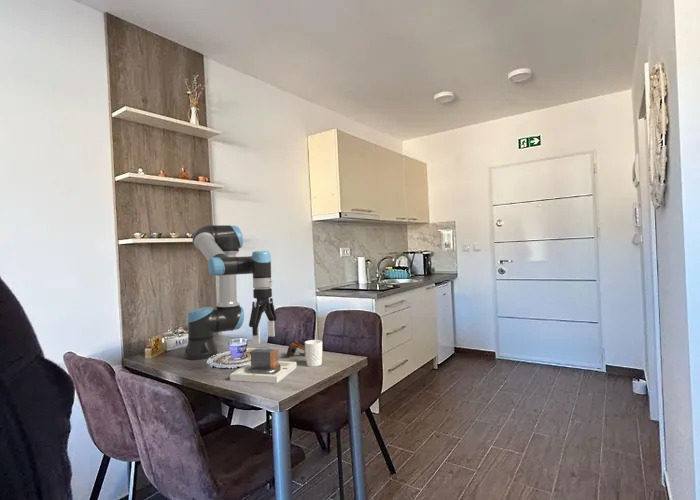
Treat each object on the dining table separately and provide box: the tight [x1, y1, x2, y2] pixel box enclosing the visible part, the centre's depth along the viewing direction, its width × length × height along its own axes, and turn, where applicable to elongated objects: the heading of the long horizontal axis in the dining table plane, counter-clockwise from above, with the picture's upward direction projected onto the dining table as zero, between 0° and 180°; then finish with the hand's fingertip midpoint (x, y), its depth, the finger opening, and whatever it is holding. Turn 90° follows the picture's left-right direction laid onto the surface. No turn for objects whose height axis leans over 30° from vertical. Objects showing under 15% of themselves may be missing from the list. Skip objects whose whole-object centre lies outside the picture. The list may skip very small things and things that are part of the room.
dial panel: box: [229, 360, 297, 384], centre depth 162 cm, size 20×20×3 cm
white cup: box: [304, 339, 323, 367], centre depth 174 cm, size 8×8×10 cm
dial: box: [248, 348, 281, 375], centre depth 162 cm, size 13×13×9 cm
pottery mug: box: [285, 340, 306, 358], centre depth 189 cm, size 12×9×8 cm
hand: (264, 339), depth 162 cm, fingers open, 13 cm apart
